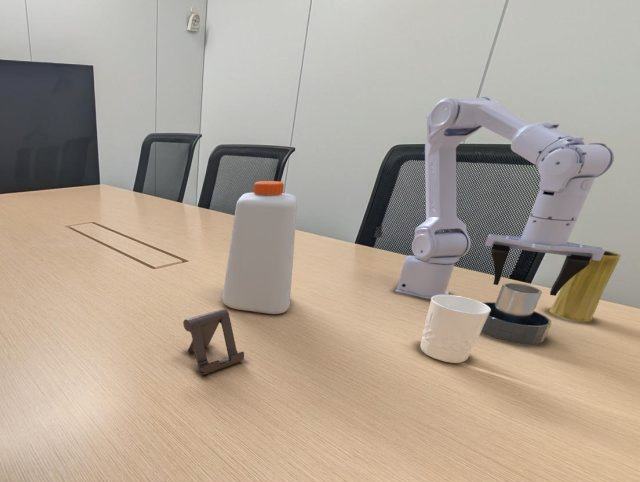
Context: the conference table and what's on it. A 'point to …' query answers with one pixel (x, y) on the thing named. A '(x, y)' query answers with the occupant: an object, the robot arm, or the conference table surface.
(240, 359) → the tablet stand
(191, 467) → the conference table surface
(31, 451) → the conference table surface
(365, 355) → the conference table surface
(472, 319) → the white cup
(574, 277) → the vase
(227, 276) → the plastic bottle
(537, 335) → the dark grey shallow bowl
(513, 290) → the silver cup
